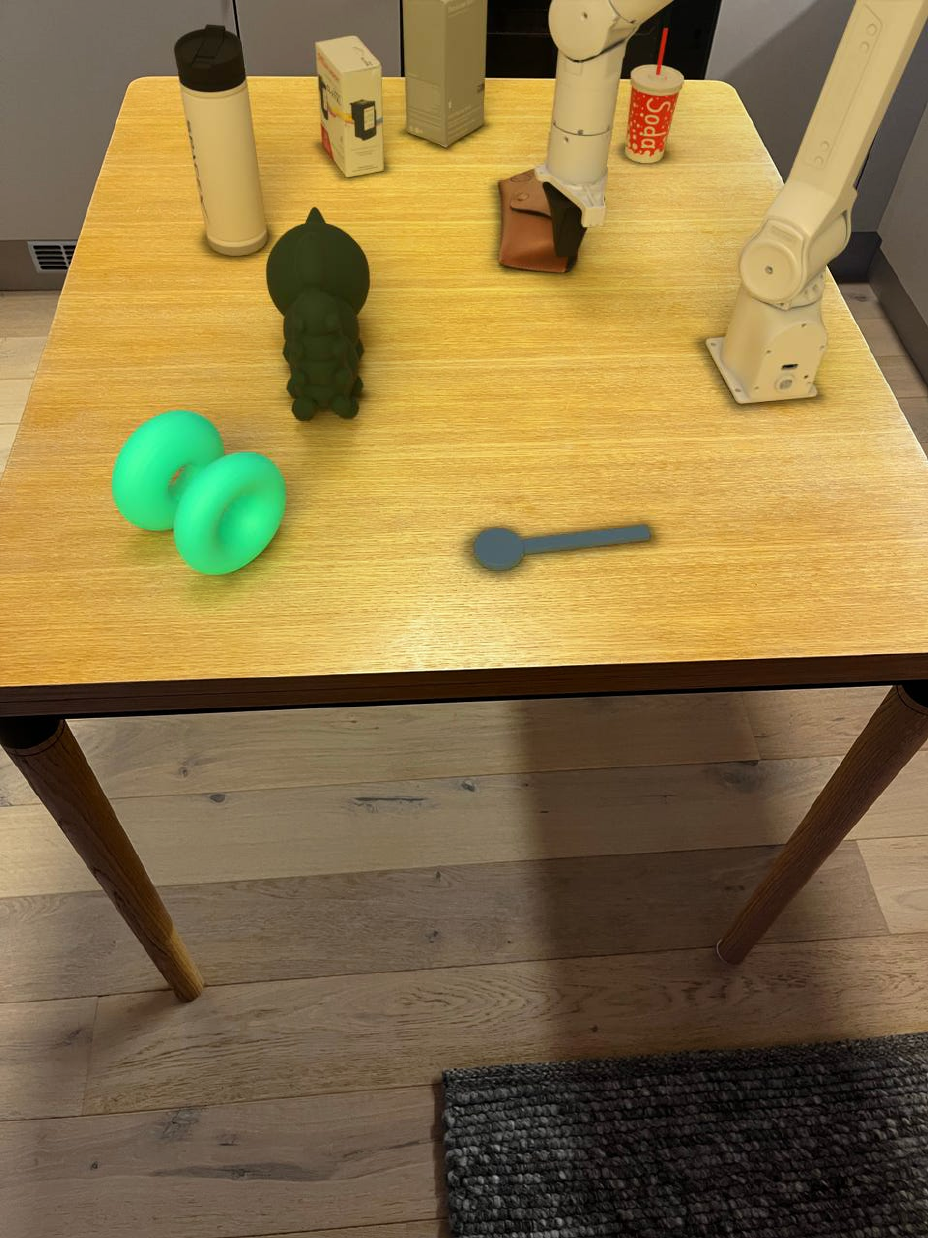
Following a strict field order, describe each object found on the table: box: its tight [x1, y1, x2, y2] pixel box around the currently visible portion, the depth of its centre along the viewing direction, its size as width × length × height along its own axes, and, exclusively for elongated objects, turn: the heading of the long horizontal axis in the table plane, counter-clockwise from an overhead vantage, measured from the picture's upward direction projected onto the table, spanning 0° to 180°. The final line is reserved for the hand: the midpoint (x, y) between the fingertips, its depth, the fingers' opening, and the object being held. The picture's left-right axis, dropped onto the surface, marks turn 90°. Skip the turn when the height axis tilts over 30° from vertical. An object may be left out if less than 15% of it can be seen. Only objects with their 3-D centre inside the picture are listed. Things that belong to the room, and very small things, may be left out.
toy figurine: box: [265, 206, 371, 422], centre depth 87 cm, size 9×19×25 cm
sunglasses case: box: [497, 168, 579, 274], centre depth 109 cm, size 18×7×7 cm
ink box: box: [314, 35, 385, 178], centre depth 114 cm, size 9×5×12 cm, turn 25°
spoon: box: [473, 524, 651, 572], centre depth 81 cm, size 4×14×1 cm, turn 100°
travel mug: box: [173, 23, 268, 257], centre depth 99 cm, size 6×7×20 cm
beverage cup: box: [624, 27, 685, 164], centre depth 116 cm, size 6×6×14 cm
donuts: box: [110, 409, 287, 576], centre depth 76 cm, size 10×10×10 cm
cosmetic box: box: [402, 0, 488, 148], centre depth 118 cm, size 8×7×16 cm
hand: (565, 254), depth 103 cm, fingers closed
